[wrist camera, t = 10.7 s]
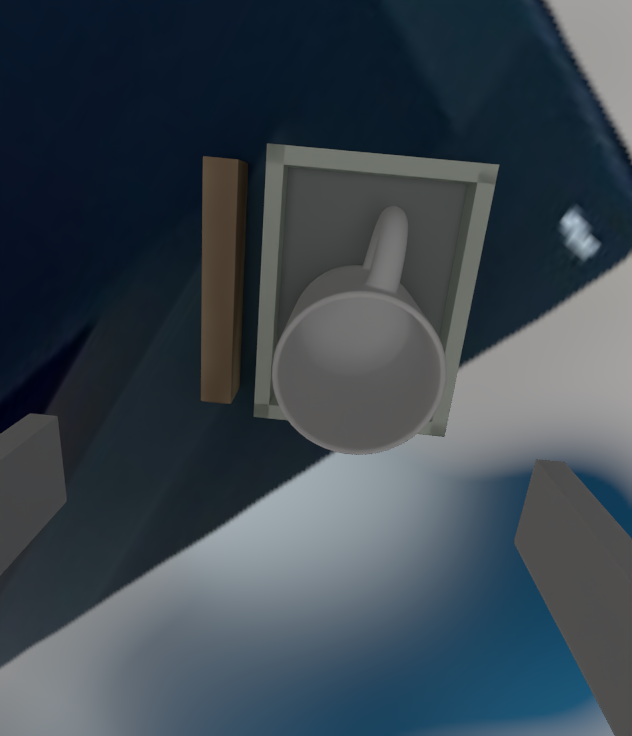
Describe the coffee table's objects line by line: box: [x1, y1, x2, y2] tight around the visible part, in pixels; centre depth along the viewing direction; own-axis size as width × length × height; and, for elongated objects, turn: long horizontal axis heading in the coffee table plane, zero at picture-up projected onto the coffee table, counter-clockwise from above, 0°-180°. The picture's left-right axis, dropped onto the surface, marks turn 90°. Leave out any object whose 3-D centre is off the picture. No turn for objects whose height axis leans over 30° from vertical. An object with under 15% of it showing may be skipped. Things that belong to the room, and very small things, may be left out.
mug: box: [272, 206, 447, 455], centre depth 27 cm, size 12×8×10 cm
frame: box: [254, 143, 499, 437], centre depth 31 cm, size 13×17×2 cm
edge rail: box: [201, 156, 248, 404], centre depth 31 cm, size 2×15×3 cm, turn 175°
